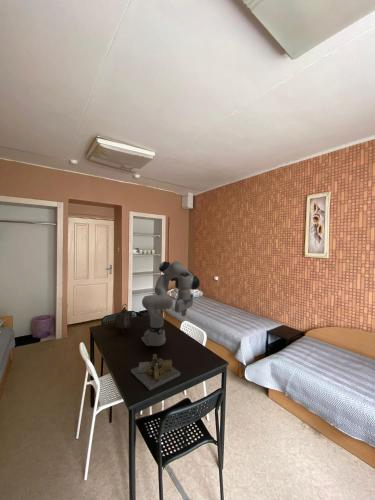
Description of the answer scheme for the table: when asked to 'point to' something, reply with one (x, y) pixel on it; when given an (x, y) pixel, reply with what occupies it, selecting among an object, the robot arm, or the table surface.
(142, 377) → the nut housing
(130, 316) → the tabletop clock
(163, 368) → the gold propeller
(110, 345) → the table surface
